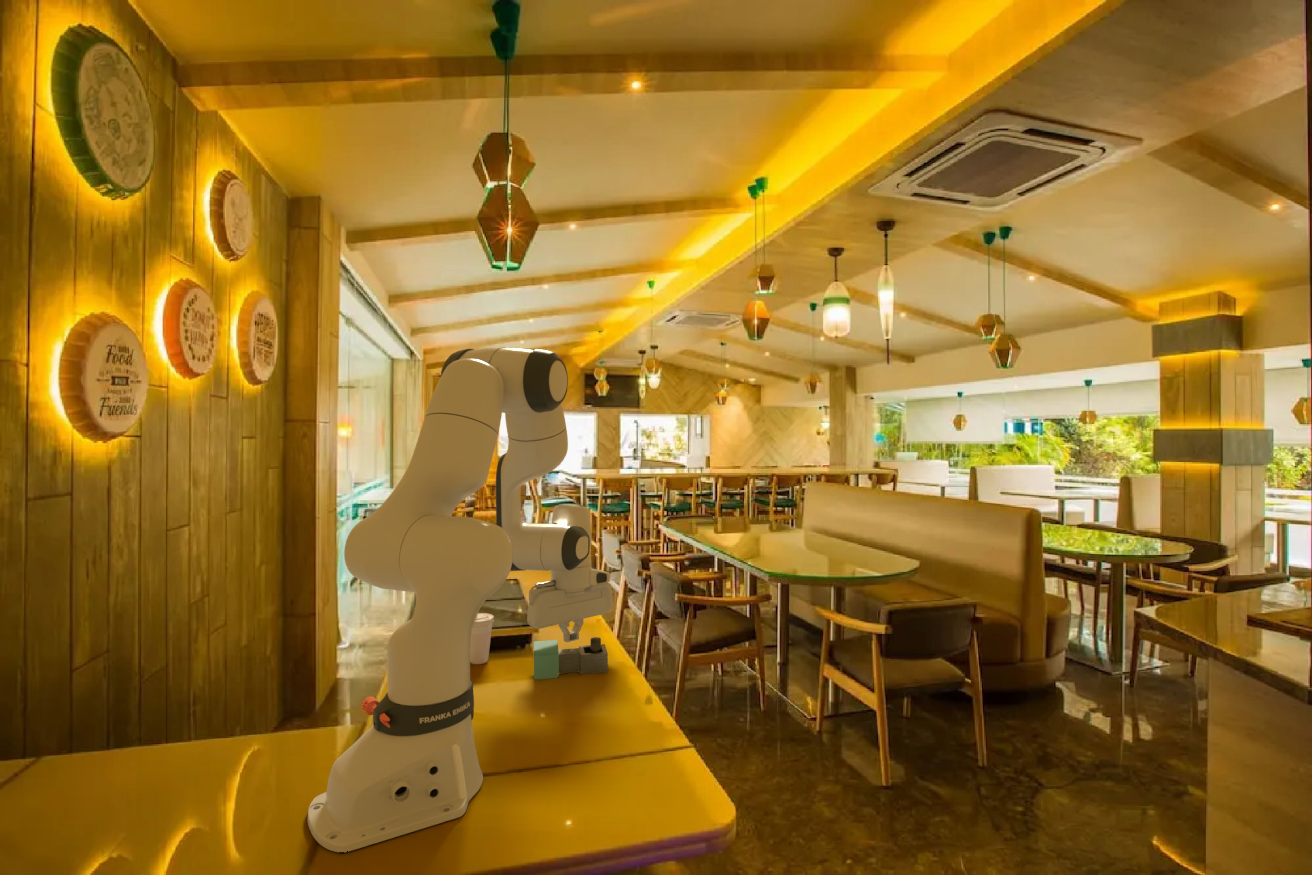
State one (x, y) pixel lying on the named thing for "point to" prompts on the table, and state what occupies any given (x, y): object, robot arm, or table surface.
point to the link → (583, 660)
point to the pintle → (595, 644)
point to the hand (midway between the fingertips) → (571, 640)
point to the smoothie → (481, 638)
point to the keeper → (546, 659)
